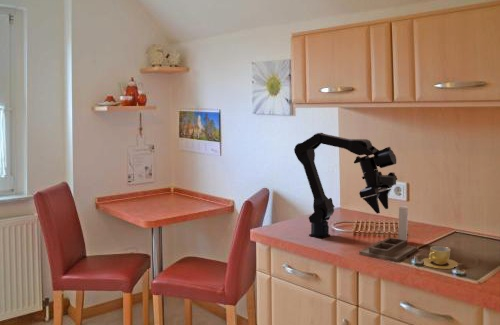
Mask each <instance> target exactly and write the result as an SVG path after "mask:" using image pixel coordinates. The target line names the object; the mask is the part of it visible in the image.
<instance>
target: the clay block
mask: <svg viewBox="0 0 500 325" xmlns="http://www.w3.org/2000/svg"><path fill="white" fill-rule="evenodd" d="M408 213H409V207H408V206H407V205H399V207H398V233H397V234H398V236H397V239H402V240H407V241H408V215H409V214H408Z"/></svg>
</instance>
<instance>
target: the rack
mask: <svg viewBox="0 0 500 325" xmlns="http://www.w3.org/2000/svg"><path fill="white" fill-rule="evenodd" d="M417 250H418V247H417V246H413V245H408V239H407V240H402V239H398V238H395V237H387V238H384V239H383V240H379V241H378V242H375V243H374V244H372V245H370V246H368V247H365V248H363V249H362V250H359V254H358V255H360V256H365V257H369V258H375V259H380V260H383V259H384V261H388V260H390V261H389V262H393V261H395V262H394V263H397V262H399V261H401V260H402V259H404V258H406V257H408V256H409V255H411V254H413V253H414V252H416V251H417Z"/></svg>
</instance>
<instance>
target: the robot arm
mask: <svg viewBox="0 0 500 325" xmlns="http://www.w3.org/2000/svg"><path fill="white" fill-rule="evenodd" d="M321 145H327V146H331V147H334V148H335V147H336V148H340V149H344V150H347V151H348V152H350V153H352V154H354V155H357V156H355V159H354V161H353V163H354V164H359V165H360V169H361V171H362V176H361V178H362V180H365V184H366V186H365V188H363V189H360V191H359V192H358V194H359V197H360V198H361V199H362V200H363V201H365V202H366V203H367V204H368V205H369V206H370V208H371V209H373V211H374V212H375V213H376V214H377V215H378V214H380V213H381V212H380V204H381V205H382V207H383V208H384V209H385V210H388V209H389V193H390V192H391V191H392V188H393V186H396V185H397V180H398V177H397V175H396V174H395V172H389V173H388V174H383V173H382V172H381V171H379V169H378V167H379V168H380V169H383V168H387V167H391V166H394V165H397V156H396V154H395V153H394V151H393V150H392V148H391V147H390V146H388V147H384V148H383V149H380V150H379V149H378V148H376V147H375V146H374V145H373V144H372V142H371V141H370V139H364V138H363V139H362V138H345V137H340V136H336V135H331V134H326V133H323V132H317V133H314V134H313V135H312V136H311V137H309V138H307V139H306V140H304V141H303V142H299V143H297V144H296V145H295V147H294V149H293V151H294V152H293V153H294V154H295V156H296V159H297V160H298V161H299V162H300V164H301V165H302V167H303V169H304V173H305V176H306V178H307V182H308V185H309V188H310V190H311V194H312V198H313V205H312V208H313V213H312V214H311V215H309V217H308V220H309V223H311V225H310V227H311V228H310V229H311V230H310V232H311V233H309V234H308V237H313V238H316V239H324V238H327V237H331V234H330V232H329V230H330V228H329V220H330V219H331V216H333V215H334V212H335V209H334V208H335V205H334V202H333V199H332V197H330V198H328V197H327V196H326V194H325V193H326V192H325V191H324V187H323V185H322V184H323V183H322V181H321V179H320V175H319V172H318V169H317V166H316V163H315V157H316V152H315V150H316V149H317V148H319V147H320V146H321ZM363 155H365V156H363ZM372 155H373V156H372ZM370 156H371V157H370ZM379 202H380V204H379Z"/></svg>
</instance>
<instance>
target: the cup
mask: <svg viewBox="0 0 500 325" xmlns="http://www.w3.org/2000/svg"><path fill="white" fill-rule="evenodd" d="M429 249H430V250H429V251H430V252H428V253H429V254H428V257H425V258H422V259H423V260H424V264H423V265H424V266H427V267H430V268H435V269H439V270H440V269H441V270H442V269H444V270H445V269H446V270H448V269H449V270H450V269H455V268H454V267H455V266H456V265H457V264H459V263H458V262H457V261H455V260H453V259H450V256H451V251H452V250H451V248H450V247H447V246H443V245H432V246H430V248H429ZM431 262H433V263H434V264H432V263H431ZM435 264H436V265H435ZM446 264H448V265H446ZM444 265H445V266H444Z"/></svg>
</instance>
